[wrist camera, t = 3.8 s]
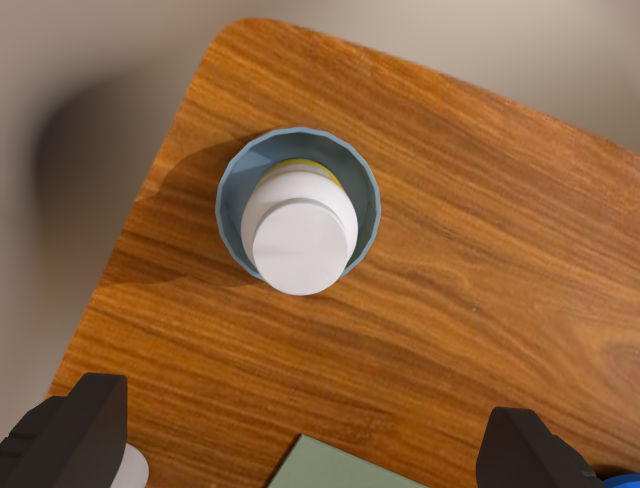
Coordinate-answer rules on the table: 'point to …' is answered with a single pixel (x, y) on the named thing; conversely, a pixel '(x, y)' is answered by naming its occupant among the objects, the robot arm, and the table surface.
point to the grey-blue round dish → (296, 144)
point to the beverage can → (131, 470)
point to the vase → (623, 481)
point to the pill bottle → (299, 227)
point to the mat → (332, 469)
